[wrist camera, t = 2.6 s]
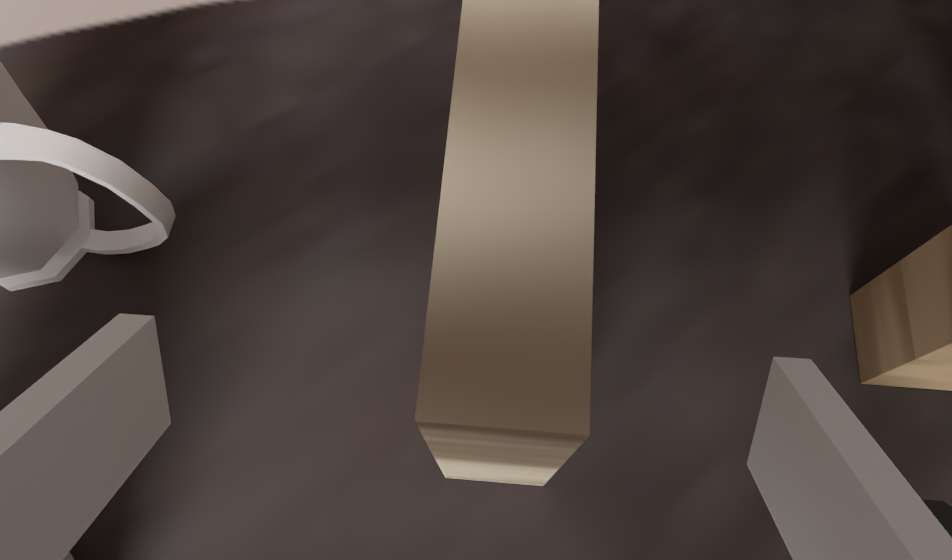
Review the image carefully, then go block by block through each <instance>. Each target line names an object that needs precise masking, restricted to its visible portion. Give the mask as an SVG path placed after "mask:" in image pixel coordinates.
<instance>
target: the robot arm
mask: <svg viewBox="0 0 952 560" xmlns="http://www.w3.org/2000/svg"><path fill="white" fill-rule="evenodd" d="M170 424H171V419H170V412H169V406H168V400H167V393H166V387H165V380H164V374H163V368H162V361H161V355H160V348H159V342H158V335H157V329H156V323H155V316H150V315H135V314H120V313H119V314H118V315H117V316H116V317H115V318H113V319H112V320H111V321H110V322H108V323H107V324H106V325H105V326H104V327H102V328H101V329H100V330H99V331H97V332H96V333H95V334H94V335H93V336H91V337H90V338H89V339H88V340H87V341H85V342H84V343H83V344H82V345H80V346H79V347H78V348H77V349H76V350H74V351H73V352H72V353H71V354H69V355H68V356H67V357H66V358H65V359H63V360H62V361H61V362H60V363H59V364H57V365H56V366H55V367H54V368H52V369H51V370H50V371H49V372H48V373H46V374H45V375H44V376H43V377H41V378H40V379H39V380H38V381H37V382H35V383H34V384H33V385H32V386H31V387H29V388H28V389H27V390H26V391H24V392H23V393H22V394H21V395H20V396H18V397H17V398H16V399H15V400H13V401H12V402H11V403H10V404H9V405H7V406H6V407H5V408H4V409H2V410H1V411H0V560H63V559H64V558H65V556H66V555H67V554H68V553H69V551H70V550H71V549H72V548H73V546H74V545H75V544H76V543H77V541H78V540H79V539H80V538H81V536H82V535H83V534H84V532H85V531H86V530H87V529H88V527H89V526H90V525H91V524H92V522H93V521H94V520H95V519H96V517H97V516H98V515H99V514H100V512H101V511H102V510H103V509H104V507H105V506H106V505H107V503H108V502H109V501H110V500H111V498H112V497H113V496H114V495H115V493H116V492H117V491H118V490H119V488H120V487H121V486H122V485H123V483H124V482H125V481H126V480H127V478H128V477H129V476H130V474H131V473H132V472H133V471H134V469H135V468H136V467H137V466H138V464H139V463H140V462H141V461H142V459H143V458H144V457H145V456H146V454H147V453H148V452H149V451H150V449H151V448H152V447H153V445H154V444H155V443H156V442H157V440H158V439H159V438H160V437H161V435H162V434H163V433H164V432H165V430H166V429H167V428H168V427H169V425H170ZM747 466H748V468H749V470H750V472H751V474H752V476H753V478H754V480H755V482H756V484H757V486H758V488H759V491H760V493H761V495H762V497H763V499H764V501H765V503H766V505H767V507H768V509H769V511H770V513H771V515H772V518H773V520H774V522H775V524H776V526H777V528H778V530H779V532H780V534H781V536H782V538H783V540H784V542H785V544H786V547H787V549H788V551H789V553H790V555H791V557H792V559H793V560H952V507H951V506H949V505H948V504H947V503H945V502H944V501H933V500H922V499H921V498H920V497H919V496H918V494H917V493H916V492H915V491H914V489H913V488H912V487H911V486H910V484H909V483H908V482H907V481H906V479H905V478H904V477H903V475H902V474H901V473H900V472H899V470H898V469H897V468H896V467H895V465H894V464H893V463H892V462H891V460H890V459H889V458H888V456H887V455H886V454H885V453H884V451H883V450H882V449H881V448H880V446H879V445H878V444H877V443H876V441H875V440H874V439H873V437H872V436H871V435H870V434H869V432H868V431H867V430H866V429H865V427H864V426H863V425H862V424H861V422H860V421H859V420H858V418H857V417H856V416H855V415H854V413H853V412H852V411H851V410H850V408H849V407H848V406H847V405H846V403H845V402H844V401H843V399H842V398H841V397H840V396H839V394H838V393H837V392H836V391H835V389H834V388H833V387H832V386H831V384H830V383H829V382H828V380H827V379H826V378H825V377H824V375H823V374H822V373H821V372H820V370H819V369H818V368H817V367H816V365H815V364H814V363H813V361H812V360H811V359H800V358H785V357H773V361H772V365H771V369H770V373H769V377H768V381H767V385H766V389H765V393H764V397H763V401H762V405H761V409H760V413H759V417H758V421H757V425H756V429H755V433H754V437H753V441H752V445H751V449H750V453H749V457H748V461H747Z"/></svg>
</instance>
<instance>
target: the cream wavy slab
mask: <svg viewBox="0 0 952 560" xmlns="http://www.w3.org/2000/svg"><path fill="white" fill-rule="evenodd" d="M598 26H599V0H463V3H462V12H461V20H460V29H459V38H458V47H457V55H456V64H455V73H454V81H453V90H452V99H451V108H450V116H449V125H448V134H447V143H446V151H445V160H444V169H443V177H442V186H441V195H440V204H439V212H438V221H437V230H436V239H435V247H434V256H433V265H432V273H431V282H430V291H429V300H428V308H427V317H426V326H425V335H424V343H423V352H422V361H421V369H420V378H419V387H418V396H417V404H416V413H415V423H416V425H417V426H418V428H419V430H420V432H421V434H422V436H423V437H424V439H425V441H426V443H427V445H428V447H429V449H430V450H431V452H432V454H433V456H434V458H435V460H436V461H437V463H438V465H439V467H440V469H441V471H442V473H443V474H444V476H445V478H454V479H466V480H478V481H490V482H502V483H513V484H525V485H537V486H544V484H545V483H546V482H547V481H548V480H549V479H550V478H551V477H552V476H553V475H554V474H555V472H556V471H557V470H558V469H559V468H560V467H561V466H562V465H563V464H564V463H565V462H566V460H567V459H568V458H569V457H570V456H571V455H572V454H573V453H574V452H575V451H576V450H577V448H578V447H579V446H580V445H581V444H582V443H583V442H584V441H585V440H586V439H587V438H588V437H589V435H590V395H591V349H592V303H593V257H594V211H595V165H596V118H597V72H598Z"/></svg>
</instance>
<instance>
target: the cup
mask: <svg viewBox="0 0 952 560" xmlns="http://www.w3.org/2000/svg"><path fill="white" fill-rule="evenodd" d="M73 172H74V173H77V174H79V175H81V176H83V177H85V178H87V179H89V180H92V181H94V182H96V183H98V184H100V185H102V186H104V187H107V188H108V189H110V190H111V191H113V192H114V193H116V194H117V195H118V196H120V197H121V198H123V199H124V200H126V201H127V202H129V203H130V204H132V205H133V206H134V207H136V208H137V209H138V210H139V211H140V212H142V213H143V214H144V215H145V216H146V217H148V218H149V219H150V220H151V221H152V223H149V224H146V225H143V226H139V227H136V228H132V229H129V230H118V231H102V230H96V229H95V219H94V201H93V200H92V199H91V198H89V197H88V196H87V195H85V194H83V193H82V192H80V191H79V190H78V182H77V180H76V178H75V176H74V174H73ZM175 217H176V215H175V212H174V209H173V206H172V203H171V201H170V200H169V199H168V198H166V197H165V196H164V195H163V194H162V193H161V192H160V191H159V190H158V189H157V188H156V187H155V186H154V185H153V184H152V183H150V182H149V181H148V180H146V179H145V178H144V177H142V176H141V175H140V174H138V173H137V172H136V171H134V170H133V169H132V168H130V167H129V166H128V165H126V164H125V163H123V162H122V161H121V160H119V159H117V158H115V157H113V156H111V155H109V154H107V153H105V152H103V151H101V150H99V149H97V148H95V147H93V146H91V145H89V144H87V143H85V142H83V141H81V140H79V139H76V138H73V137H70V136H67V135H64V134H61V133H57V132H54V131H51V130H48V129H47V127H46V126H45V124H44V123H43V122H42V120H41V119H40V118H39V116H38V115H37V113H36V112H35V111H34V109H33V108H32V107H31V105H30V104H29V102H28V101H27V100H26V98H25V97H24V95H23V94H22V93H21V91H20V90H19V88H18V87H17V85H16V84H15V82H14V81H13V79H12V78H11V76H10V75H9V73H8V72H7V70H6V69H5V68H4V66H3V65H2V63H1V62H0V285H1V286H2V287H4V288H6V289H7V290H9V291H15V290H20V289H25V288H30V287H34V286H39V285H44V284H49V283H53V282H58V281H61V280H62V279H63V278H64V277H65V276H66V275H67V274H68V273H69V271H70V270H71V269H72V268H73V267H74V266H75V265H76V264H77V263H78V261H79V260H80V259H81V258H82V257H83V256H84V255H85V254H86V253H87V252H91V253H98V254H105V255H108V254H125V253H132V252H136V251H140V250H145V249H148V248H152V247H155V246H158V245H160V244H161V243H162V242H163V241H165V240H166V239H167V238H168V236H169V233H170V231H171V228H172V225H173V222H174V220H175Z"/></svg>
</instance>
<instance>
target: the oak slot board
mask: <svg viewBox="0 0 952 560" xmlns="http://www.w3.org/2000/svg"><path fill="white" fill-rule="evenodd" d="M850 302H851V310H852V318H853V326H854V335H855V343H856V351H857V359H858V367H859V375H860V383H861V384H872V385H885V386H898V387H911V388H924V389H937V390H950V391H952V225H951V226H949V227H948V228H946V229H945V230H943V231H942V232H941V233H939V234H938V235H936V236H935V237H933V238H932V239H930V240H929V241H928V242H926V243H925V244H923V245H922V246H920V247H919V248H918V249H916V250H915V251H913V252H912V253H910V254H909V255H908V256H906V257H905V258H903V259H902V260H900V261H899V262H897V263H896V264H895V265H893V266H892V267H890V268H889V269H887V270H886V271H885V272H883V273H882V274H880V275H879V276H877V277H876V278H874V279H873V280H872V281H870V282H869V283H867V284H866V285H864V286H863V287H862V288H860V289H859V290H857V291H856V292H854V293H853V294H851V295H850Z"/></svg>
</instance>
